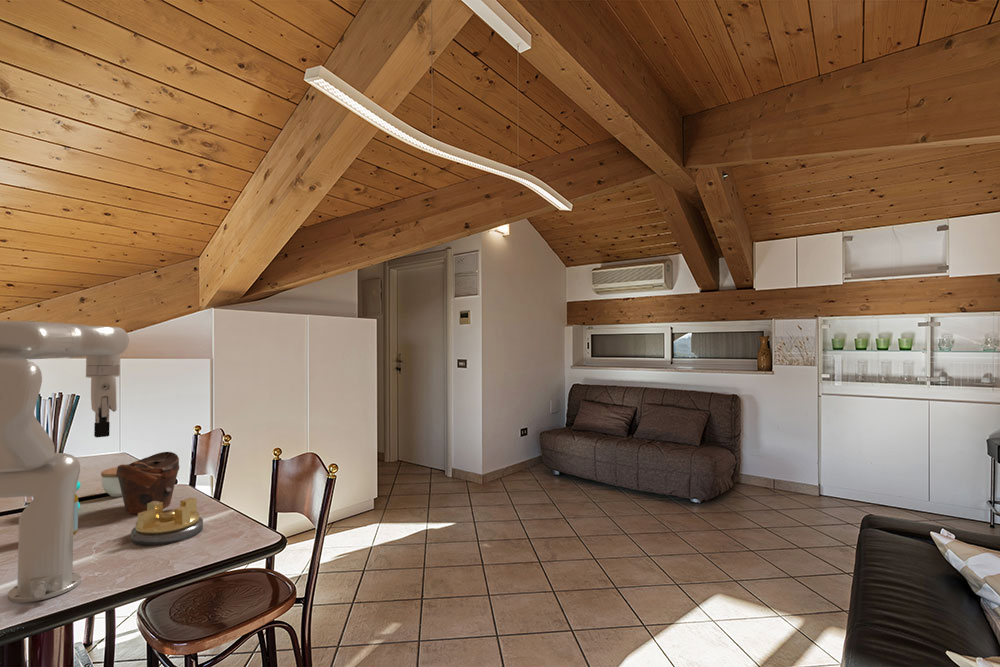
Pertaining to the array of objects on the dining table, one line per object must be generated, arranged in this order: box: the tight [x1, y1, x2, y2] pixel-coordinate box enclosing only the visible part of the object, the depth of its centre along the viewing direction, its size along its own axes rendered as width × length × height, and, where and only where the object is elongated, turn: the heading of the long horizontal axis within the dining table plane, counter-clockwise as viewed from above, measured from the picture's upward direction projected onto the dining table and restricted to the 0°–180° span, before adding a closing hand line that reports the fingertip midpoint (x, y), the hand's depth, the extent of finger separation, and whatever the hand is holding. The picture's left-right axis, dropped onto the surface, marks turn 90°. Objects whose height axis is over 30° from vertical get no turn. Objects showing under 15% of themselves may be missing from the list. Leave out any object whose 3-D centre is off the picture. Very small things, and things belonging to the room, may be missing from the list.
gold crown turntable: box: [134, 497, 200, 535], centre depth 150 cm, size 16×16×6 cm
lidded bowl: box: [100, 463, 125, 498], centre depth 189 cm, size 13×13×11 cm
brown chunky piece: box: [116, 451, 180, 515], centre depth 173 cm, size 18×20×18 cm
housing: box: [130, 516, 204, 547], centre depth 150 cm, size 18×18×6 cm
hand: (101, 436), depth 141 cm, fingers closed
